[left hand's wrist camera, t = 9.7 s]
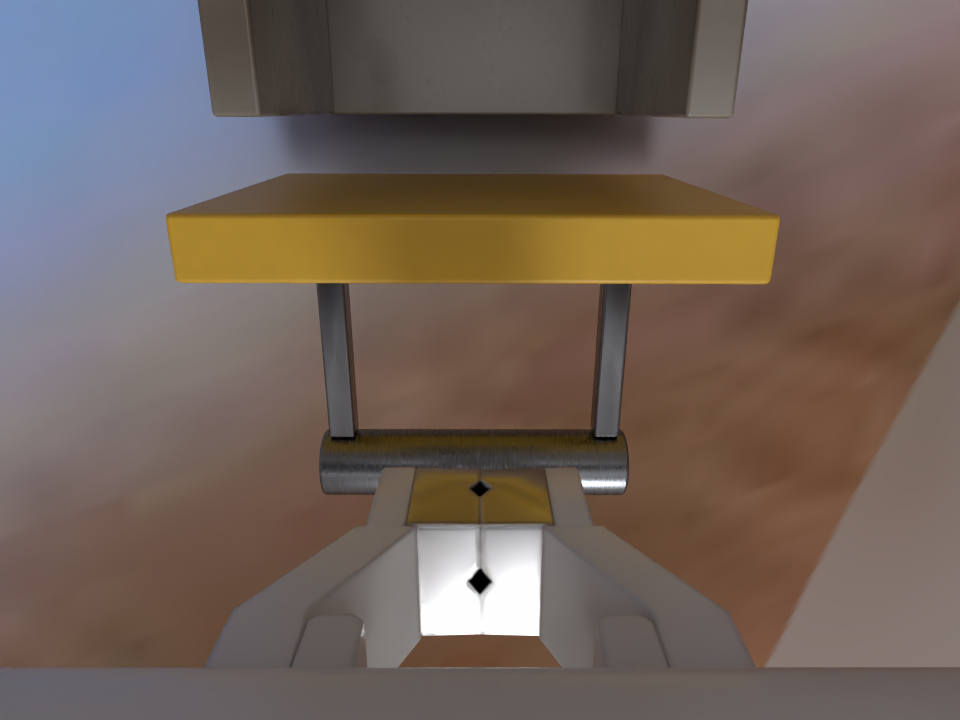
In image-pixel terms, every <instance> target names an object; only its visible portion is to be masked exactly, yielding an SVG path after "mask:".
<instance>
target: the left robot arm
mask: <svg viewBox="0 0 960 720" xmlns="http://www.w3.org/2000/svg"><path fill="white" fill-rule="evenodd" d="M462 634H496V635H533V636H539V639H540V640H541V641H542V642H543V644H544V645H545V646H546V647H547V649H548V650H549V651H550V652H551V654H552V655H553V656H554V657H555V658H556V660H557V661H558V662H559V663H560V665H561V666H562V667H563V668H398V666H399V665H400V664H401V663H402V662H403V660H404V659H405V658H406V657H407V655H408V654H409V653H410V652H411V650H412V649H413V648H414V647H415V645H416V644H417V643H418V642H419V640H420V639H421V636H427V635H462ZM0 720H960V668H756V667H755V664H754V662H753V660H752V658H751V656H750V654H749V652H748V650H747V648H746V646H745V644H744V642H743V640H742V638H741V636H740V634H739V632H738V630H737V628H736V626H735V624H734V622H733V620H732V618H731V616H730V614H729V612H728V611H726V610H725V609H723V608H722V607H721V606H719V605H718V604H716V603H715V602H713V601H712V600H710V599H709V598H707V597H706V596H705V595H703V594H702V593H700V592H699V591H697V590H696V589H694V588H693V587H691V586H690V585H688V584H687V583H686V582H684V581H683V580H681V579H680V578H678V577H677V576H675V575H674V574H672V573H671V572H669V571H668V570H667V569H665V568H664V567H662V566H661V565H659V564H658V563H656V562H655V561H653V560H652V559H650V558H649V557H648V556H646V555H645V554H643V553H642V552H640V551H639V550H637V549H636V548H634V547H633V546H631V545H630V544H629V543H627V542H626V541H624V540H623V539H621V538H620V537H618V536H617V535H615V534H614V533H612V532H611V531H610V530H608V529H607V528H605V527H604V526H594V525H593V521H592V518H591V514H590V511H589V507H588V503H587V500H586V496H585V493H584V489H583V485H582V482H581V478H580V475H579V471H578V469H577V468H576V467H558V468H511V469H465V468H417V469H416V468H415V467H390V468H384V469H383V470H382V471H381V474H380V478H379V481H378V485H377V488H376V492H375V496H374V499H373V503H372V507H371V510H370V514H369V518H368V521H367V525H366V526H356V527H355V528H353V529H352V530H350V531H349V532H348V533H346V534H345V535H343V536H342V537H340V538H339V539H337V540H336V541H334V542H333V543H331V544H330V545H328V546H327V547H326V548H324V549H323V550H321V551H320V552H318V553H317V554H315V555H314V556H312V557H311V558H309V559H308V560H306V561H305V562H303V563H302V564H301V565H299V566H298V567H296V568H295V569H293V570H292V571H290V572H289V573H287V574H286V575H284V576H283V577H281V578H280V579H279V580H277V581H276V582H274V583H273V584H271V585H270V586H268V587H267V588H265V589H264V590H262V591H261V592H259V593H258V594H257V595H255V596H254V597H252V598H251V599H249V600H248V601H246V602H245V603H243V604H242V605H240V606H239V607H237V608H236V609H234V610H233V611H232V612H231V614H230V616H229V618H228V620H227V622H226V624H225V626H224V628H223V630H222V632H221V634H220V636H219V638H218V640H217V642H216V644H215V646H214V648H213V650H212V652H211V654H210V656H209V658H208V660H207V662H206V665H205V667H204V668H138V667H37V668H0Z"/></svg>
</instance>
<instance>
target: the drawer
mask: <svg viewBox="0 0 960 720" xmlns="http://www.w3.org/2000/svg"><path fill="white" fill-rule="evenodd" d="M747 5H748V0H198V6H199V14H200V22H201V29H202V37H203V44H204V52H205V60H206V67H207V75H208V82H209V90H210V98H211V105H212V112H213V114H214V115H215V116H217V117H266V116H296V115H327V114H388V115H626V116H651V117H676V118H729V117H732V115H733V113H734V105H735V97H736V90H737V82H738V74H739V67H740V59H741V51H742V43H743V36H744V28H745V20H746V13H747ZM166 223H167V229H168V235H169V242H170V248H171V254H172V260H173V266H174V272H175V278H176V280H177V281H178V282H181V283H317V294H318V306H319V317H320V329H321V340H322V352H323V363H324V375H325V386H326V398H327V409H328V421H329V430H327V431H326V432H325V434H324V436H323V439H322V444H321V449H320V460H319V473H320V482H321V487H322V490H323V492H324V493H325V494H327V495H375V492H376V488H377V485H378V481H379V478H380V474H381V471H382V470H383V469H384V468H390V467H415V468H416V469H417V468H465V469H511V468H558V467H576V468H577V469H578V471H579V475H580V478H581V482H582V485H583V489H584V493H585V495H622V494H624V493H625V491H626V488H627V484H628V477H629V455H628V447H627V442H626V438H625V435H624V433H623V431H621V430H619V425H620V413H621V401H622V390H623V378H624V366H625V355H626V343H627V332H628V320H629V308H630V297H631V285H632V284H766V283H769V281H770V278H771V272H772V266H773V260H774V253H775V247H776V241H777V235H778V229H779V223H780V219H779V216H778V215H775V214H773V213H770V212H767V211H764V210H761V209H759V208H756V207H753V206H750V205H747V204H744V203H742V202H739V201H736V200H733V199H730V198H727V197H725V196H722V195H719V194H716V193H713V192H710V191H708V190H705V189H702V188H699V187H696V186H693V185H691V184H688V183H685V182H682V181H679V180H676V179H674V178H671V177H668V176H665V175H593V174H285V175H282V176H279V177H276V178H273V179H270V180H267V181H264V182H261V183H258V184H255V185H252V186H249V187H246V188H243V189H240V190H237V191H234V192H231V193H228V194H225V195H222V196H219V197H216V198H213V199H210V200H207V201H204V202H201V203H199V204H196V205H193V206H190V207H187V208H184V209H181V210H178V211H175V212H172V213H169V214H167V216H166ZM349 283H516V284H600V297H599V311H598V326H597V340H596V355H595V369H594V384H593V398H592V413H591V429H358V413H357V398H356V384H355V369H354V355H353V340H352V326H351V312H350V297H349Z"/></svg>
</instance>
